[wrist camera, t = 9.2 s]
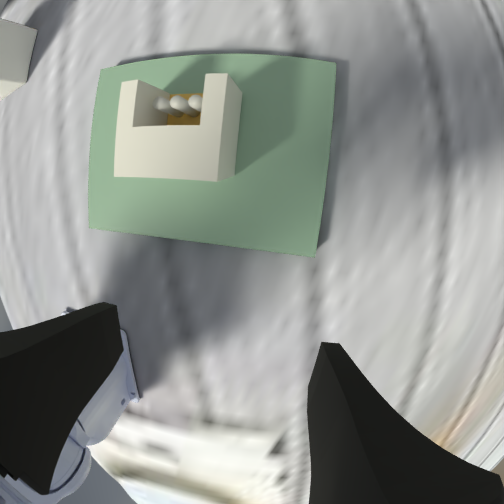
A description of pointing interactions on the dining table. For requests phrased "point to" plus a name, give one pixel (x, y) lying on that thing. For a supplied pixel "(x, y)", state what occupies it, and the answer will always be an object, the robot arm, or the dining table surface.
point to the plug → (178, 134)
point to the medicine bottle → (14, 55)
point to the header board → (247, 158)
